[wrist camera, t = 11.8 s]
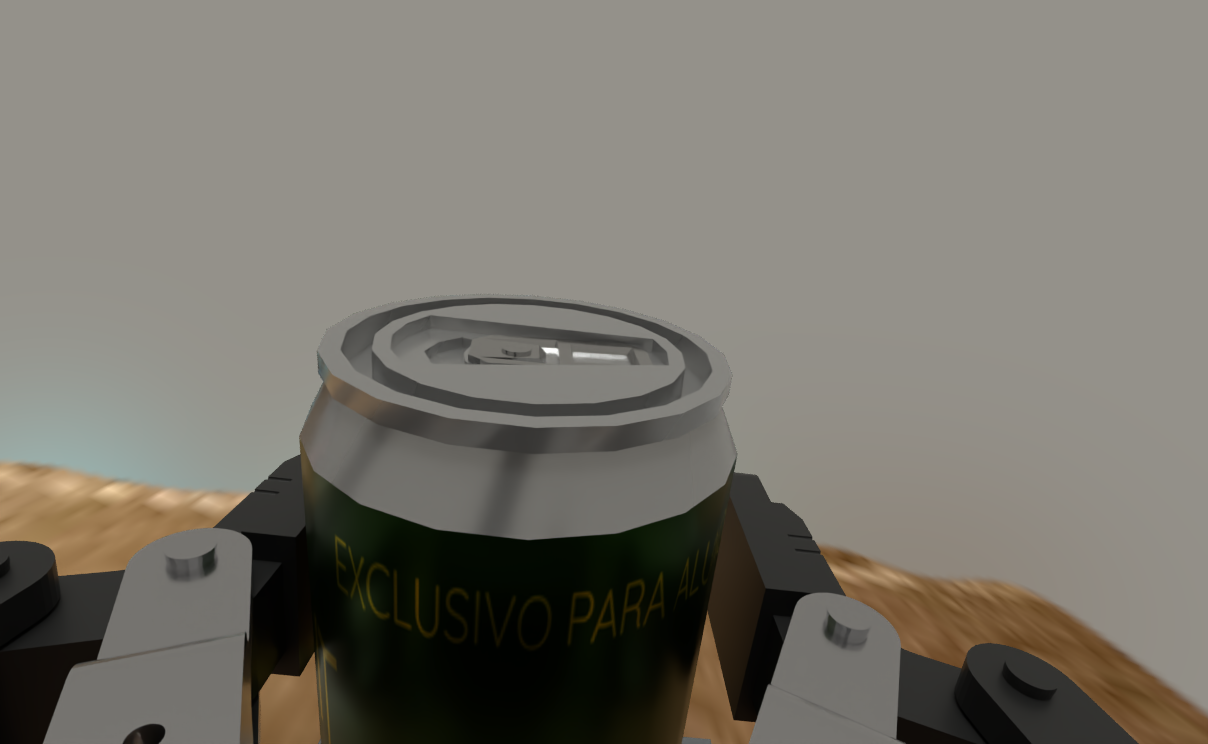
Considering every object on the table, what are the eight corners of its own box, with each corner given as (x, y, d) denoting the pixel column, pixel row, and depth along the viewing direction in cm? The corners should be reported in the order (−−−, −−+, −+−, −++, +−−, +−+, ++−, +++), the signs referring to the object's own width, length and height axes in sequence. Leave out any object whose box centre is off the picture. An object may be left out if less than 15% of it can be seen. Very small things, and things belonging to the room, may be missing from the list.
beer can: (616, 801, 15) (691, 303, 11) (660, 1142, 10) (832, 451, 6) (378, 809, 14) (362, 279, 10) (294, 1183, 9) (193, 425, 5)
